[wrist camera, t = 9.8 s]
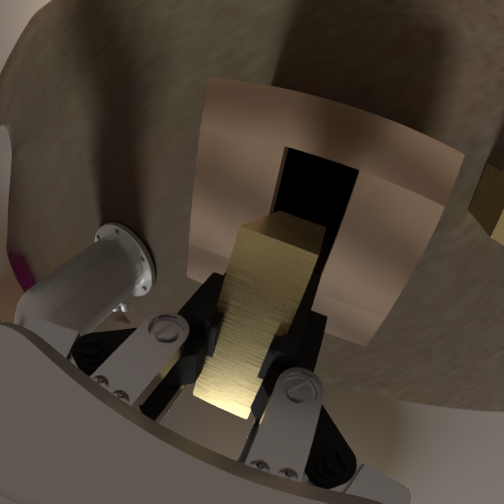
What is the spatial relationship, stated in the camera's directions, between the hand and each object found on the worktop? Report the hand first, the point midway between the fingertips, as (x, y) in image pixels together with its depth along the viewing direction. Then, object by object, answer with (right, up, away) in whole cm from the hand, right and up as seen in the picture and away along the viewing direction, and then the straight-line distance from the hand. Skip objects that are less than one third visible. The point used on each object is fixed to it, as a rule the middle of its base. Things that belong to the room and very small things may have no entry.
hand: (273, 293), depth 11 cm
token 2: (+21, +7, +8) cm, 23 cm away
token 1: (0, +2, -2) cm, 3 cm away
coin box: (+6, +8, +14) cm, 17 cm away
